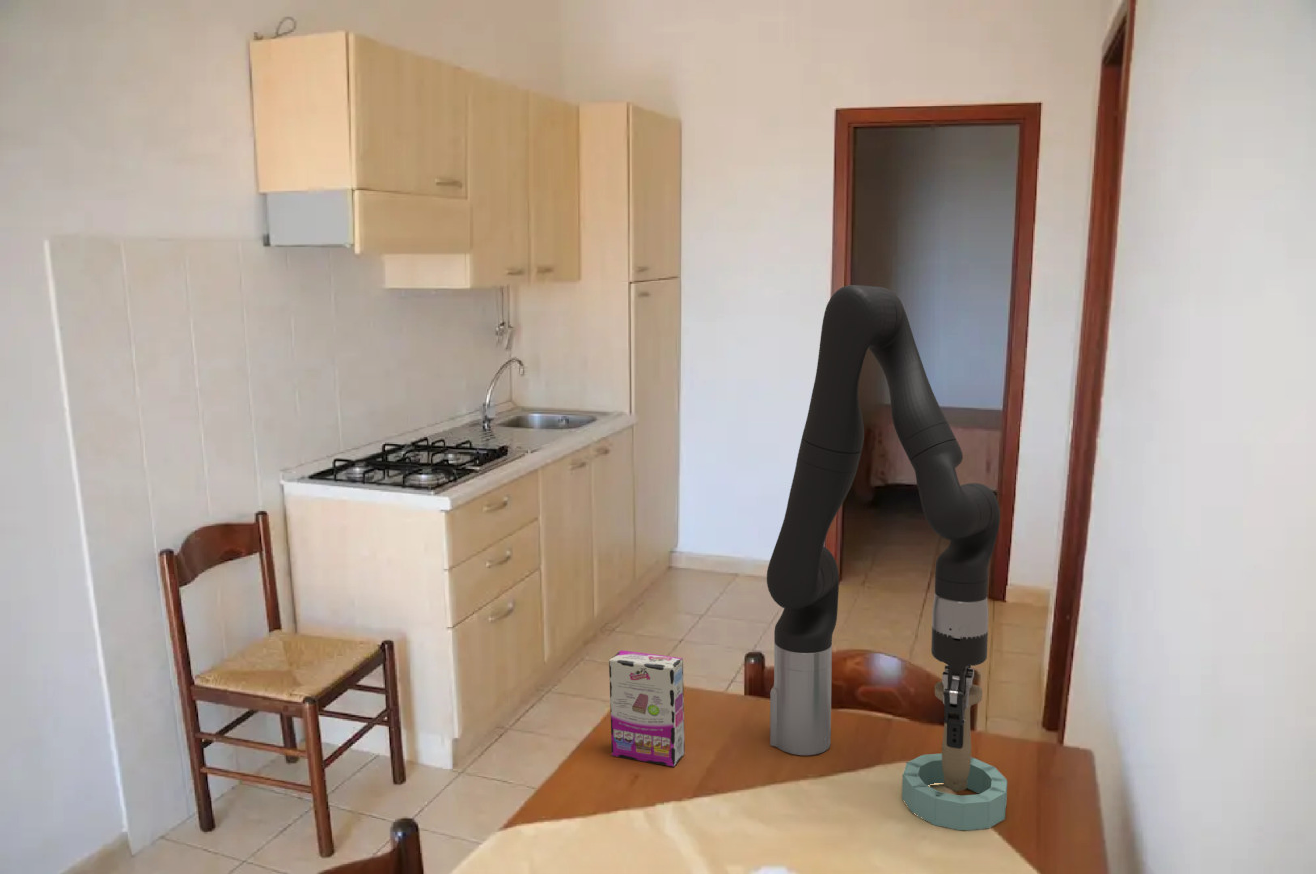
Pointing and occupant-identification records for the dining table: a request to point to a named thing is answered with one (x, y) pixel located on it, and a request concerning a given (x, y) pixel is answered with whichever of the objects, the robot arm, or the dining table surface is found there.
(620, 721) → the candy bar box
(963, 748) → the handle
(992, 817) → the notched ring
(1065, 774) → the dining table surface
